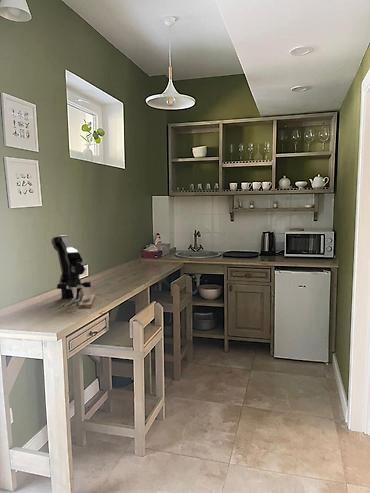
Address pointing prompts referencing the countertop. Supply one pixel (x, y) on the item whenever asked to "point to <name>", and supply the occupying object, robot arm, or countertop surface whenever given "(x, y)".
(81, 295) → the caliper
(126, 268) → the countertop surface
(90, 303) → the walnut board
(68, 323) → the countertop surface
